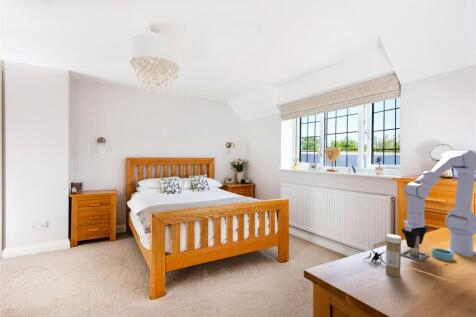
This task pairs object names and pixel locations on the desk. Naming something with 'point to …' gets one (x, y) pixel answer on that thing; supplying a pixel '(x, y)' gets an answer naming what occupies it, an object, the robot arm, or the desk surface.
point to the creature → (376, 257)
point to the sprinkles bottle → (393, 254)
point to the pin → (415, 248)
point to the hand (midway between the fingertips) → (414, 245)
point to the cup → (442, 254)
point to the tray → (420, 258)
